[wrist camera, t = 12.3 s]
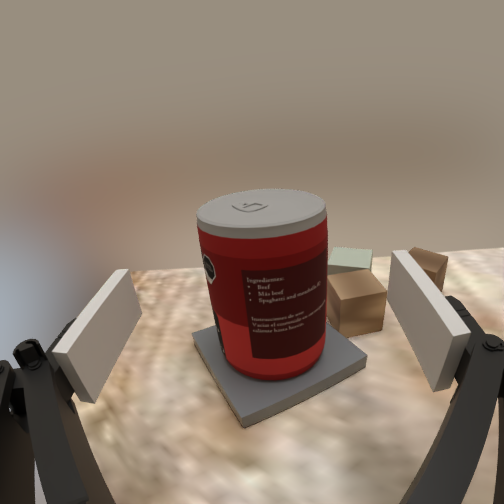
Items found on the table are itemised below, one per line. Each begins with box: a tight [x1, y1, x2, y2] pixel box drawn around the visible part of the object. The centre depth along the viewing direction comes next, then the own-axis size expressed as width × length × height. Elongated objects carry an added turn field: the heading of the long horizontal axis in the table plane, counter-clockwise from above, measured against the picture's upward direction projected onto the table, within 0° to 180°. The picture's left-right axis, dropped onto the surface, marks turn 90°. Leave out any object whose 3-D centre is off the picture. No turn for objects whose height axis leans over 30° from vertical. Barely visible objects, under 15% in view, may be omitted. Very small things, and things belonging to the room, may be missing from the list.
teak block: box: [326, 269, 387, 338], centre depth 26 cm, size 4×4×4 cm
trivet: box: [192, 322, 367, 428], centre depth 24 cm, size 10×10×1 cm
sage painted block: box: [327, 247, 373, 275], centre depth 31 cm, size 4×4×4 cm
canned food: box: [196, 189, 328, 380], centre depth 21 cm, size 8×8×11 cm
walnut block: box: [408, 247, 448, 292], centre depth 29 cm, size 4×4×4 cm
